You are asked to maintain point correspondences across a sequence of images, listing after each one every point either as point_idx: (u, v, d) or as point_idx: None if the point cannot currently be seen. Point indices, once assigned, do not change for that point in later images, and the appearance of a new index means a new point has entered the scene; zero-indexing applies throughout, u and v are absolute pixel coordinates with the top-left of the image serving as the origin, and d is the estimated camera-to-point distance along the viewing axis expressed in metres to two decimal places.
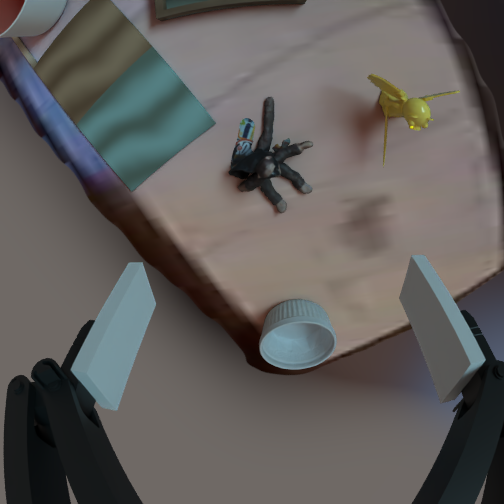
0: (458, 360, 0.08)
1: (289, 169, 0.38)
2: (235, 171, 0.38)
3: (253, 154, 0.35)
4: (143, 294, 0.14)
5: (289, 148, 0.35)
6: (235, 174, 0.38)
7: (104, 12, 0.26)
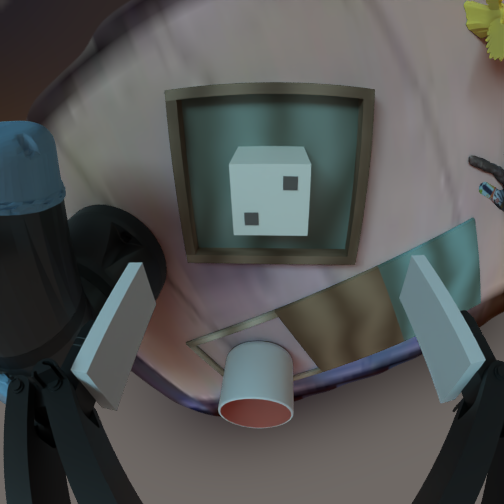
0: (458, 360, 0.08)
1: None
2: None
3: None
4: (143, 294, 0.14)
5: None
6: None
7: (308, 308, 0.37)
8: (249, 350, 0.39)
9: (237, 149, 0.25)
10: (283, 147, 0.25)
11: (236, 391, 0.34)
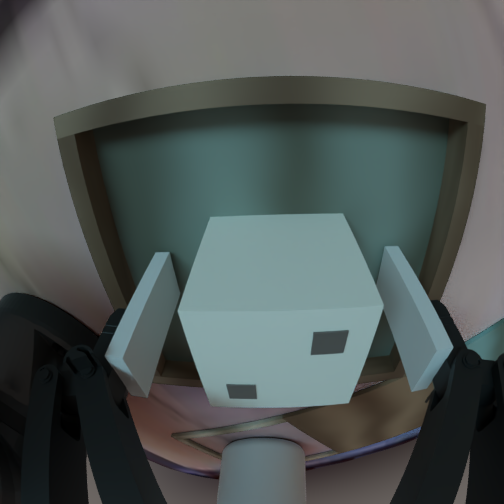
0: (426, 347, 0.09)
1: None
2: None
3: None
4: (170, 283, 0.14)
5: None
6: None
7: (327, 413, 0.24)
8: (250, 453, 0.26)
9: (207, 230, 0.12)
10: (303, 219, 0.13)
11: None
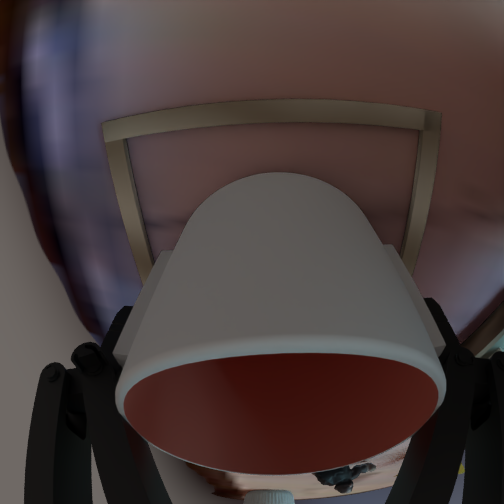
0: None
1: None
2: None
3: (341, 473, 0.35)
4: None
5: (362, 470, 0.36)
6: None
7: None
8: None
9: None
10: None
11: None
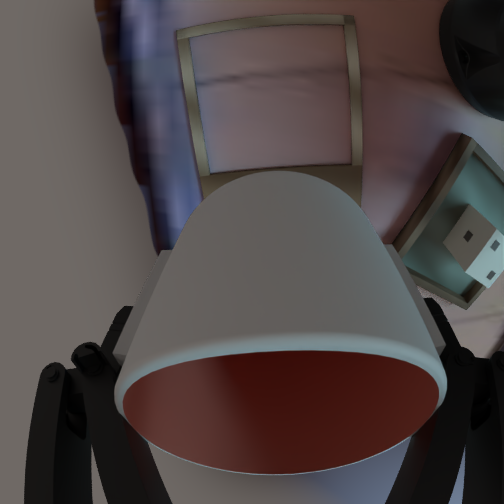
0: None
1: None
2: None
3: None
4: None
5: None
6: None
7: None
8: None
9: None
10: None
11: None
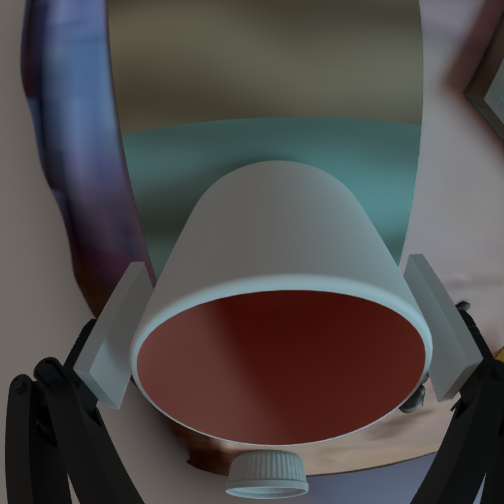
0: (456, 359, 0.08)
1: None
2: None
3: None
4: (145, 293, 0.14)
5: None
6: None
7: None
8: None
9: None
10: None
11: None
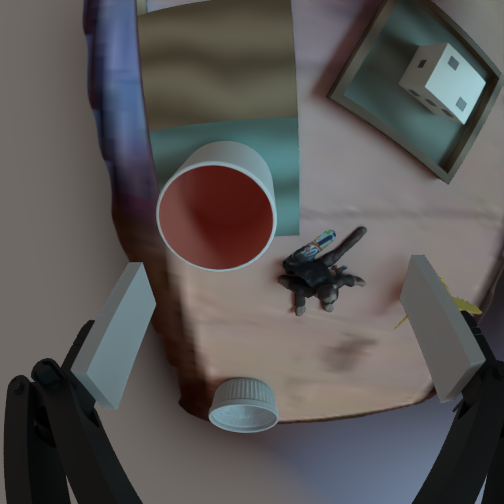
0: (458, 360, 0.08)
1: None
2: None
3: (320, 269, 0.36)
4: (143, 294, 0.14)
5: (347, 279, 0.37)
6: (288, 270, 0.38)
7: (276, 27, 0.23)
8: None
9: None
10: None
11: None
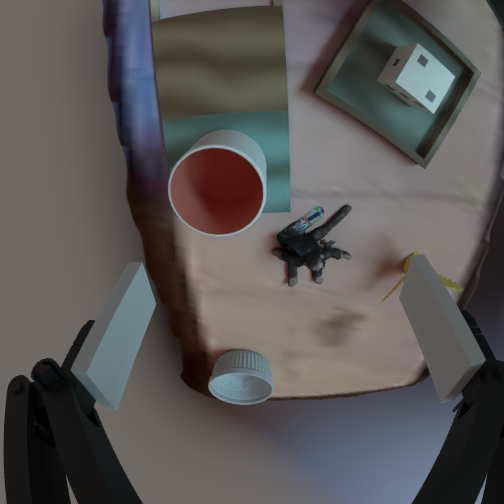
0: (458, 360, 0.08)
1: None
2: None
3: (309, 241, 0.41)
4: (143, 294, 0.14)
5: (334, 252, 0.42)
6: (281, 242, 0.43)
7: (270, 34, 0.28)
8: None
9: None
10: None
11: None
